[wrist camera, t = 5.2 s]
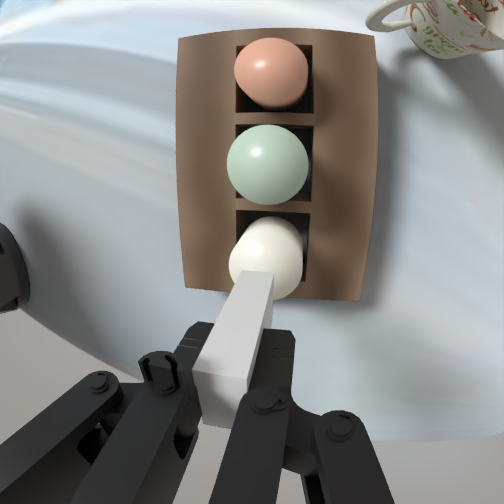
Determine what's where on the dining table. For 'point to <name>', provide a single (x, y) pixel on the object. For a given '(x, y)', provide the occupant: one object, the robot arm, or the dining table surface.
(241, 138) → the button sage
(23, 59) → the dining table surface
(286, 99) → the button terracotta
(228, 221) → the button panel
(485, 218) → the dining table surface
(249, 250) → the button cream
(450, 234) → the dining table surface
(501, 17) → the mug
